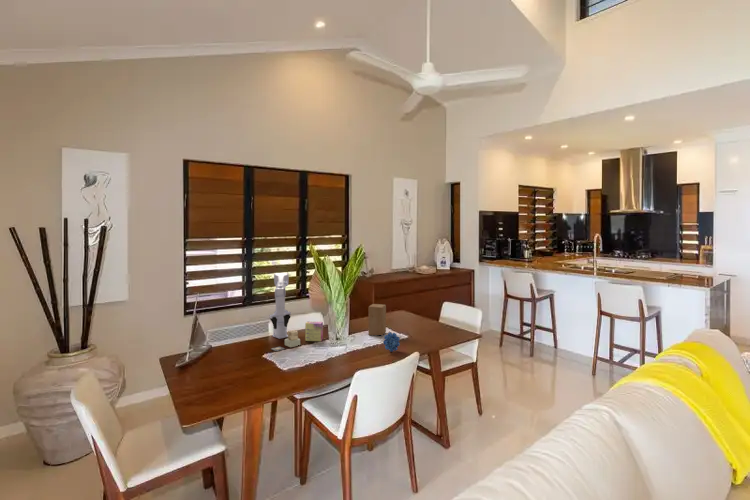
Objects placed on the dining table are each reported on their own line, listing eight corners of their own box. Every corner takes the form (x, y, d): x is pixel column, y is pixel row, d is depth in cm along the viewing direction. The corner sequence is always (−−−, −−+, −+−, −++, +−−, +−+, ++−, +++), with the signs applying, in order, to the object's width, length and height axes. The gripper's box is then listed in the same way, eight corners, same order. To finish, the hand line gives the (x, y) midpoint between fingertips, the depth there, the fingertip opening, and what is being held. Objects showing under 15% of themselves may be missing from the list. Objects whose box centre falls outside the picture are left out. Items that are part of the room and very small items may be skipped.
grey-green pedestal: (284, 345, 237) (284, 339, 236) (294, 343, 242) (294, 336, 241) (290, 347, 232) (290, 341, 232) (300, 345, 237) (300, 339, 237)
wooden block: (368, 335, 259) (368, 306, 258) (372, 331, 269) (372, 303, 268) (382, 336, 256) (382, 307, 255) (386, 332, 266) (386, 304, 265)
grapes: (387, 355, 218) (387, 335, 217) (381, 352, 223) (381, 332, 223) (403, 352, 224) (403, 332, 223) (397, 349, 229) (397, 329, 229)
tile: (270, 349, 228) (270, 348, 228) (279, 347, 232) (279, 346, 232) (276, 351, 224) (276, 350, 224) (284, 349, 228) (284, 348, 228)
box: (323, 339, 250) (322, 321, 249) (320, 341, 244) (320, 323, 243) (307, 338, 251) (307, 321, 250) (305, 341, 245) (305, 323, 244)
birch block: (287, 338, 237) (287, 331, 237) (294, 337, 240) (294, 329, 240) (291, 340, 234) (291, 332, 233) (297, 339, 236) (297, 331, 236)
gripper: (273, 309, 232) (273, 331, 232) (293, 305, 242) (293, 326, 243) (267, 307, 236) (267, 328, 237) (287, 304, 247) (287, 324, 248)
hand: (280, 327), depth 240 cm, fingers open, 7 cm apart
